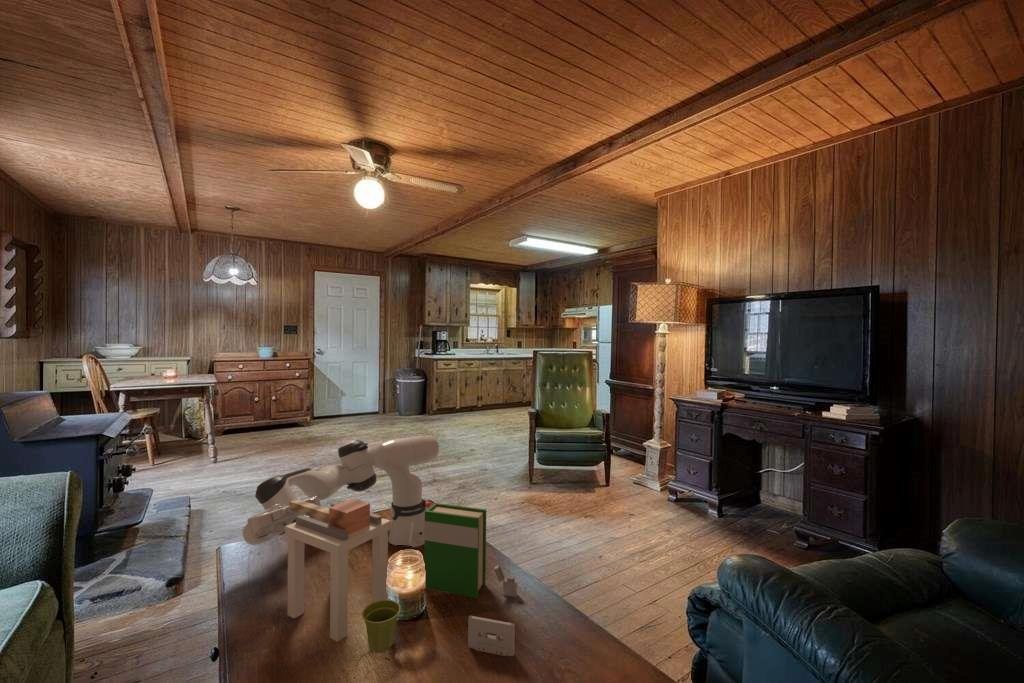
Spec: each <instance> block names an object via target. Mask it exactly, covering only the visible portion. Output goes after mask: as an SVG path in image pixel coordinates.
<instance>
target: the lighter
mask: <svg viewBox="0 0 1024 683" xmlns="http://www.w3.org/2000/svg"><path fill="white" fill-rule="evenodd" d="M493 571H494V572H495V575H496V578H497V580H498V582H499V583H500V582H502V596H506V597H507V596H508V597H512V598H517V596H518V579H515V577H514V576H510V575H507V577H505V575H504V573H503V570H502V568H501V565H496V566H495V567H494V568H493Z"/></svg>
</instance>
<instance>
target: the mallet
mask: <svg viewBox="0 0 1024 683" xmlns="http://www.w3.org/2000/svg"><path fill="white" fill-rule="evenodd" d="M289 510H292V511H295V512H298V513H301V514H304V515H303V516H306V517H313V518H316V519H319V520H322V521H325V522H328V523H329V525H332V526H335V527H338V528H341V529H344V530H346V531H348V535H349V534H351V533H353V532H355V531H357V530H359V529H362V528H364V527H366V526H368V525H370V513H371V504H370V503H369V502H366V501H362V500H359V499H355V498H352V499H349V500H345V501H343V502H342V503H339V504H338V505H335V506H333V507H331V506H330V507H324V506H322V505H321V506H318V505H315V504H312V503H308V502H305V501H304V500H301V499H299V498H297V499H295V500H292V501H290V504H289Z"/></svg>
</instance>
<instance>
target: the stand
mask: <svg viewBox="0 0 1024 683" xmlns="http://www.w3.org/2000/svg"><path fill="white" fill-rule="evenodd" d="M338 504H340V503H339V502H332V503H330V507H333V506H335V505H338ZM391 522H392V520H390V519H386V518H382V515H380V514H376V513H373V512H370V525H368V526H366V527H364V528H362V529H359V530H357V531H355V532H353V533H351V534H349V535H348V531H346V530H344V529H341V528H338V527H335V526H332V525H329V523H328V522H325V521H322V520H319V519H316V518H313V517H310V516H306V515H303V516H302V515H299V516H297V517H296V522H295V523H293V524H290V525H287V526H285V533H284V535H285V536H286V537H287V616H288V617H290V618H292V619H296V618H298V617H300V616H301V615H303V614H305V544H307V545H309V546H312V547H314V548H317V549H320V550H322V551H324V552H326V553H327V552H328V553H330V562H329V564H330V568H329V570H330V572H329V574H330V575H329V576H330V577H329V579H330V582H329V586H330V587H329V589H330V590H329V591H330V592H329V596H330V597H329V603H330V604H329V638H330V639H332V640H333V641H335V642H340V641H341V640H342V639H344V638H345V637H347V636H348V611H349V610H348V604H349V602H348V600H349V597H348V596H349V594H348V591H349V590H348V589H349V582H348V581H349V574H348V573H349V572H348V571H349V551H350V550H352V549H354V548H356V547H359V546H360V545H362V544H364V543H366V542H368V541H370V540H372V545H371V546H372V549H371V551H372V552H371V553H372V554H371V555H372V556H371V557H372V558H371V560H372V563H371V565H372V566H371V572H372V573H371V603H373V602H376V601H380V600H388V592H387V593H386V578H387V567H388V566H389V565H388V562H389V561H388V560H389V559H388V558H389V557H388V556H389V553H388V552H389V541H388V537H389V531H390V529H391ZM388 568H389V567H388Z"/></svg>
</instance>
